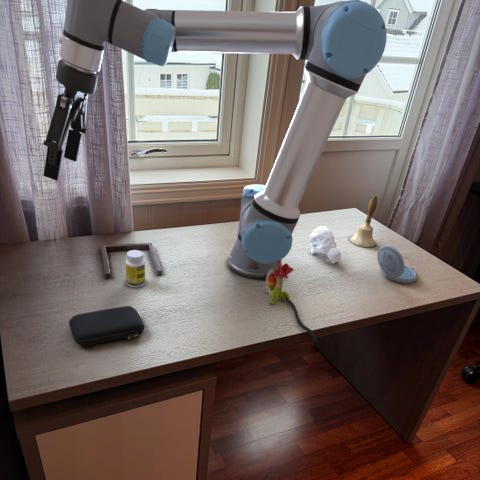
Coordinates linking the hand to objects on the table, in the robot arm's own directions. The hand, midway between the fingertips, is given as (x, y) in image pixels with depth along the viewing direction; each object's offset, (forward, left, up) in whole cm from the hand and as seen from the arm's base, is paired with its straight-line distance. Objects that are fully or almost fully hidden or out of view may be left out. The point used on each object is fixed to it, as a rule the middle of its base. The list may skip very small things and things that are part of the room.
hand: (60, 168), depth 98 cm
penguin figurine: (-30, -67, -27) cm, 78 cm away
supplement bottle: (-12, -11, -27) cm, 32 cm away
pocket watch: (-50, -77, -27) cm, 96 cm away
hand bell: (-30, -88, -27) cm, 97 cm away
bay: (-1, -16, -27) cm, 31 cm away
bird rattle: (-37, -36, -27) cm, 58 cm away
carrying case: (-26, +5, -27) cm, 38 cm away
